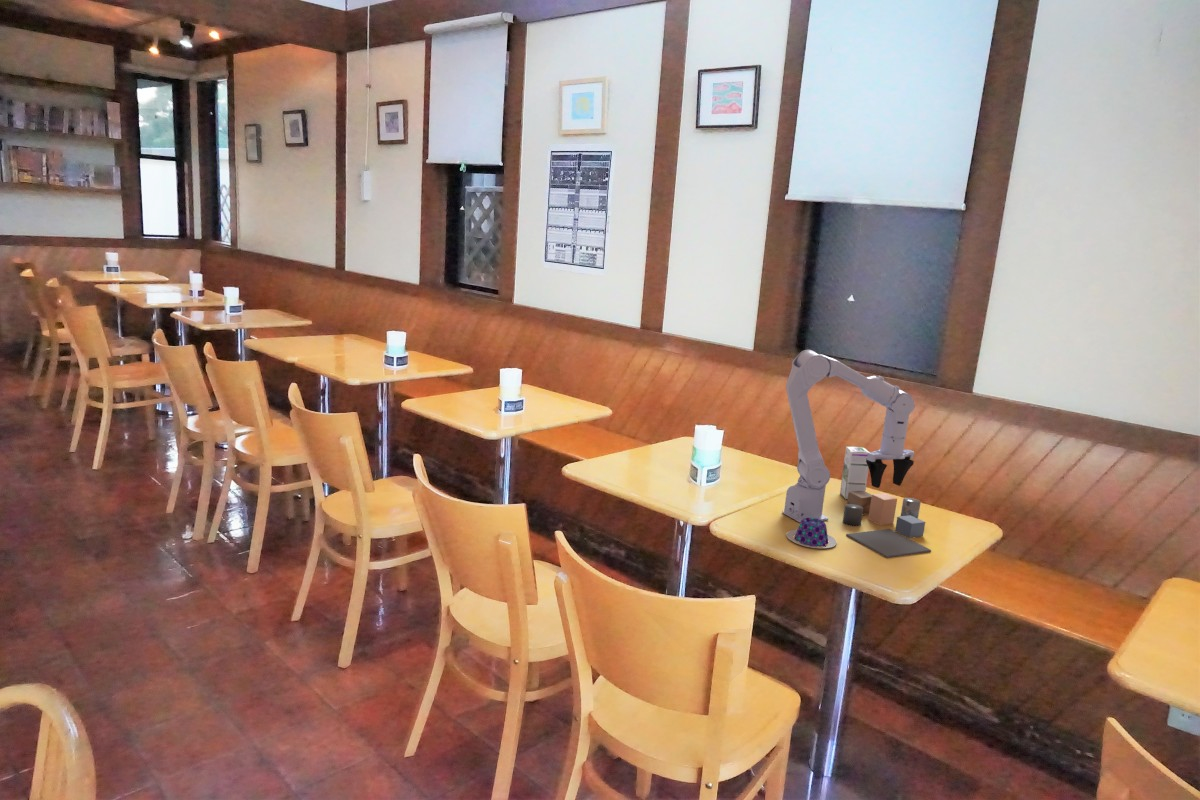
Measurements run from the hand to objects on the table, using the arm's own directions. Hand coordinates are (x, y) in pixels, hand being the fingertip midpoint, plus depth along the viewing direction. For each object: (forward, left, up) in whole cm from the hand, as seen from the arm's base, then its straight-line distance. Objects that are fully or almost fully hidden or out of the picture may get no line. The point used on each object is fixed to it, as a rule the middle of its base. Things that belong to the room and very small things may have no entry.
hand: (886, 485), depth 210 cm
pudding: (-28, -6, -10) cm, 31 cm away
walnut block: (0, +8, -10) cm, 13 cm away
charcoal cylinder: (-9, +1, -10) cm, 14 cm away
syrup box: (+6, +18, -10) cm, 21 cm away
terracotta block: (0, 0, -10) cm, 10 cm away
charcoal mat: (-10, -13, -10) cm, 19 cm away
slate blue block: (+1, -9, -10) cm, 14 cm away
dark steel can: (+9, -1, -10) cm, 13 cm away
